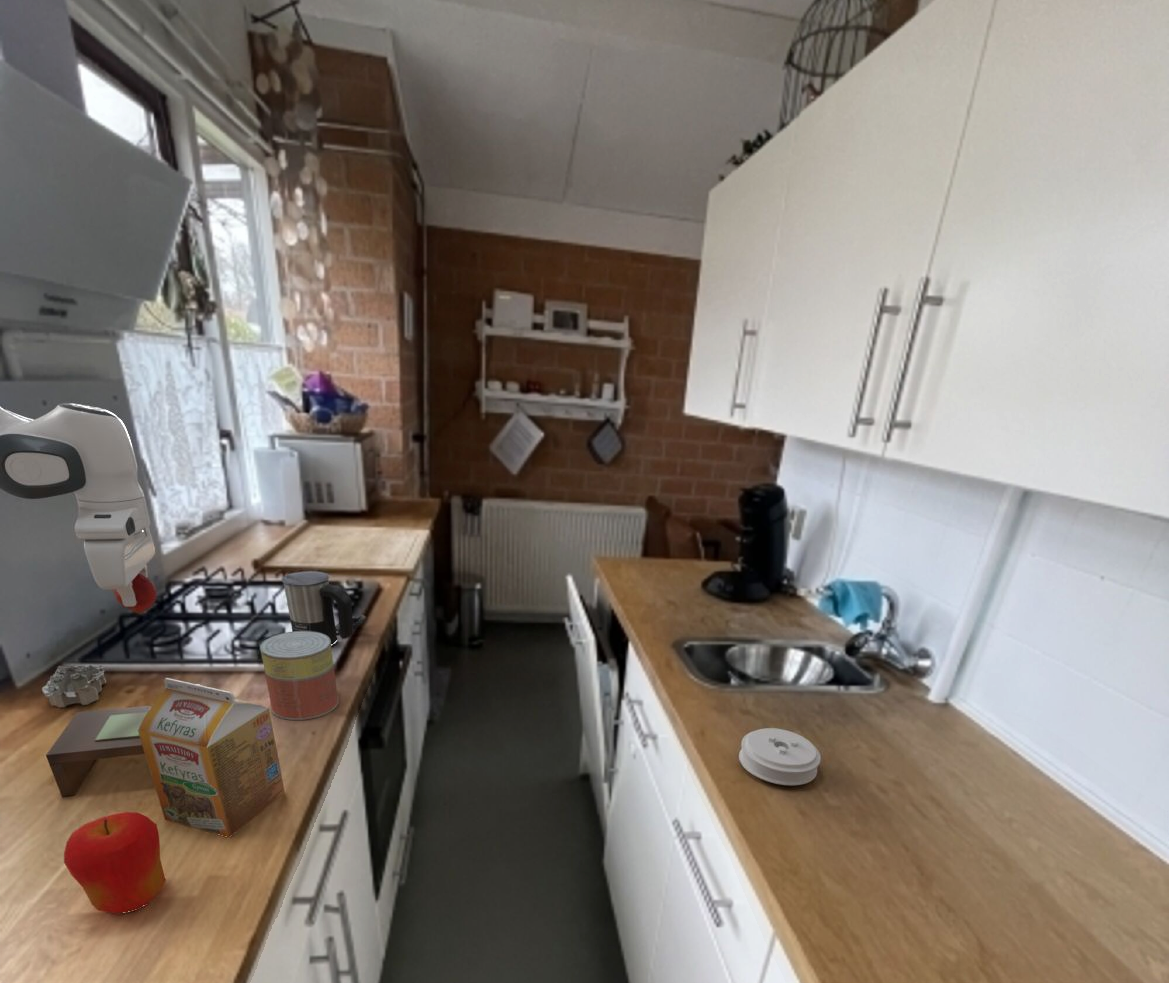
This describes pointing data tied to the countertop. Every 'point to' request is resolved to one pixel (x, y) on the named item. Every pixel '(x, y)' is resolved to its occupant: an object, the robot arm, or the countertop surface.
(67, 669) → the egg carton
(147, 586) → the onion
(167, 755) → the milk carton
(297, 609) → the milk frother
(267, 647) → the canned food
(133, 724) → the shelf
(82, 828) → the apple
